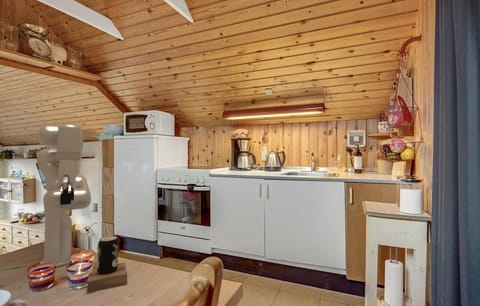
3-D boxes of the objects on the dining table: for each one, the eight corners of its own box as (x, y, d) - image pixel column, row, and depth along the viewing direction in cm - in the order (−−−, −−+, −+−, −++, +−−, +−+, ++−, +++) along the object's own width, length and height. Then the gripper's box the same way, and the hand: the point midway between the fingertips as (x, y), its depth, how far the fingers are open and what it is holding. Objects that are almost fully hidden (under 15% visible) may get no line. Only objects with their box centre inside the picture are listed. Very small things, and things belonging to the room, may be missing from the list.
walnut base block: (89, 278, 92) (89, 268, 92) (124, 271, 98) (124, 262, 98) (87, 292, 81) (87, 282, 81) (126, 284, 87) (127, 274, 87)
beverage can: (108, 276, 86) (109, 241, 86) (92, 274, 87) (93, 240, 88) (121, 268, 92) (122, 236, 93) (106, 266, 94) (107, 234, 94)
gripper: (60, 157, 99) (58, 200, 98) (52, 156, 84) (50, 206, 83) (82, 157, 103) (81, 198, 102) (78, 157, 88) (76, 205, 87)
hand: (67, 202), depth 93 cm, fingers open, 9 cm apart
